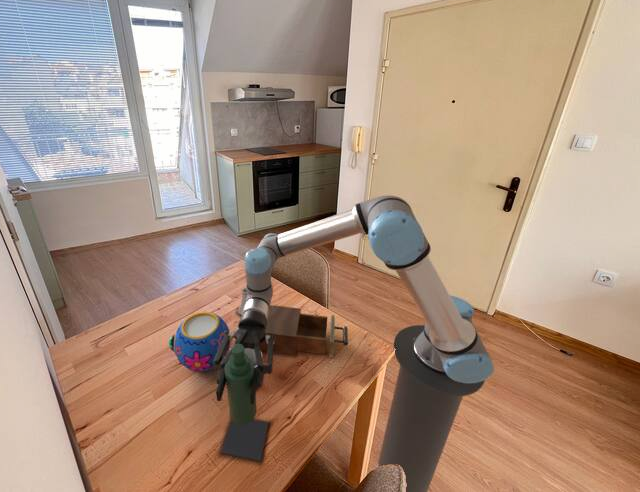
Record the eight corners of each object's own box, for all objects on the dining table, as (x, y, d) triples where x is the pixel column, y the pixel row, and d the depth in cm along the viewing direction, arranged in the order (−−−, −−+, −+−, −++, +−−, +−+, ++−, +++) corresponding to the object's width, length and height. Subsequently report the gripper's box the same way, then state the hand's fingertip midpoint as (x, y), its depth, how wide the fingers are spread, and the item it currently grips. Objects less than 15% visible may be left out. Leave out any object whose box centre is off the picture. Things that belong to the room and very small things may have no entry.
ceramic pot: (197, 333, 107) (192, 300, 101) (241, 346, 102) (238, 312, 95) (165, 373, 92) (157, 337, 86) (215, 390, 87) (209, 353, 80)
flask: (234, 313, 116) (232, 293, 112) (243, 302, 122) (241, 282, 118) (250, 318, 114) (249, 297, 110) (258, 306, 120) (257, 287, 116)
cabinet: (300, 326, 110) (300, 308, 106) (295, 356, 98) (296, 336, 94) (257, 321, 113) (256, 303, 109) (247, 349, 100) (246, 330, 97)
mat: (268, 423, 78) (268, 422, 78) (260, 461, 70) (260, 460, 70) (232, 416, 80) (232, 415, 79) (221, 453, 72) (220, 452, 71)
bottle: (259, 400, 73) (256, 338, 64) (252, 427, 67) (248, 363, 59) (234, 396, 74) (228, 335, 65) (226, 422, 68) (217, 358, 60)
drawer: (346, 331, 106) (347, 317, 103) (347, 359, 95) (349, 344, 92) (291, 324, 109) (291, 310, 107) (286, 351, 98) (286, 336, 96)
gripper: (288, 331, 83) (281, 413, 62) (221, 327, 84) (192, 406, 63) (288, 311, 79) (281, 390, 59) (218, 306, 81) (187, 382, 60)
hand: (235, 398), depth 61 cm, fingers closed on bottle, 6 cm apart
